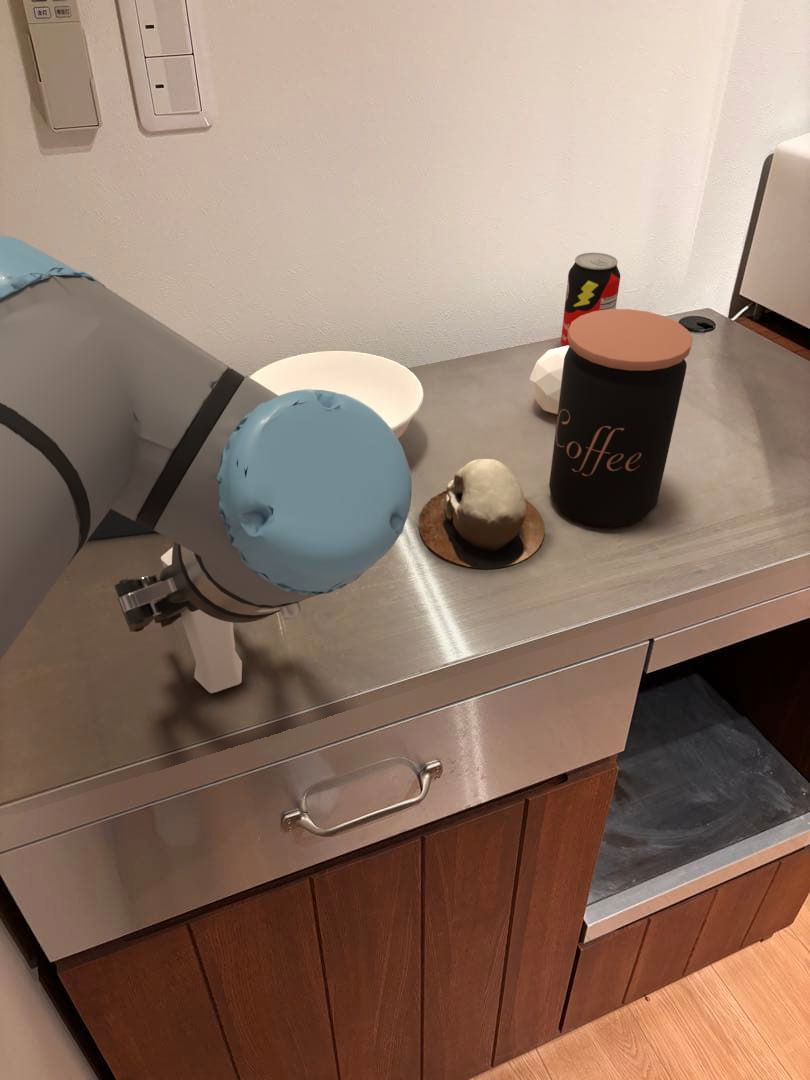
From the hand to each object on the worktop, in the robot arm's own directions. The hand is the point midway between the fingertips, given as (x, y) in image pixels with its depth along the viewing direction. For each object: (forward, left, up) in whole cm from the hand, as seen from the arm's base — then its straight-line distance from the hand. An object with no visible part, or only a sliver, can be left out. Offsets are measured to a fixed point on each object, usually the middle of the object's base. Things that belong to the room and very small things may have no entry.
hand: (193, 597), depth 67 cm
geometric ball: (+41, +30, -5) cm, 52 cm away
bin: (-6, +24, -5) cm, 26 cm away
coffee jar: (+39, +12, -5) cm, 42 cm away
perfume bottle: (+1, -4, -5) cm, 7 cm away
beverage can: (+49, +44, -5) cm, 67 cm away
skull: (+26, +10, -5) cm, 29 cm away
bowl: (+14, +28, -5) cm, 32 cm away
